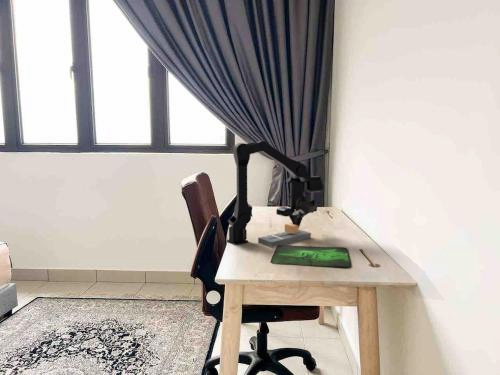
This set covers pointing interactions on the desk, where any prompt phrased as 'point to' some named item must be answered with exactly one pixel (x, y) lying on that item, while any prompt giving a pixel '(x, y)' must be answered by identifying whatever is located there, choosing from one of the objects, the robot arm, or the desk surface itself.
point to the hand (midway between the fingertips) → (296, 229)
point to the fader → (291, 228)
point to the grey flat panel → (283, 238)
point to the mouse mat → (311, 256)
